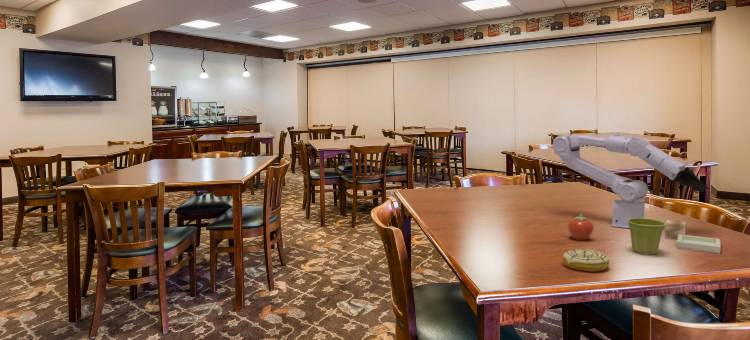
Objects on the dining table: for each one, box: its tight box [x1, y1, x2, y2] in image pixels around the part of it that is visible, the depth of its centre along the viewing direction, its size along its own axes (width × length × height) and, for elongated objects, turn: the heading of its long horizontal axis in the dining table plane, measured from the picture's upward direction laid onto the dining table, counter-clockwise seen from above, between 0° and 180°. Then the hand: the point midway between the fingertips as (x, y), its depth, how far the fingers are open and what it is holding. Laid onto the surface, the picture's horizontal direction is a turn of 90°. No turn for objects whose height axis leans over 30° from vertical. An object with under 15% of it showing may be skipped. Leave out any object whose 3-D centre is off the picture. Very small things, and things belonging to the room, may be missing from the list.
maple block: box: [664, 219, 687, 241], centre depth 141 cm, size 5×5×5 cm
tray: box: [676, 234, 722, 254], centre depth 131 cm, size 10×10×2 cm
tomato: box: [567, 213, 595, 241], centre depth 141 cm, size 7×7×8 cm
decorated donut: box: [562, 248, 610, 273], centre depth 116 cm, size 10×11×4 cm
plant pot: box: [627, 217, 666, 256], centre depth 127 cm, size 9×9×9 cm
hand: (704, 189), depth 139 cm, fingers open, 7 cm apart
